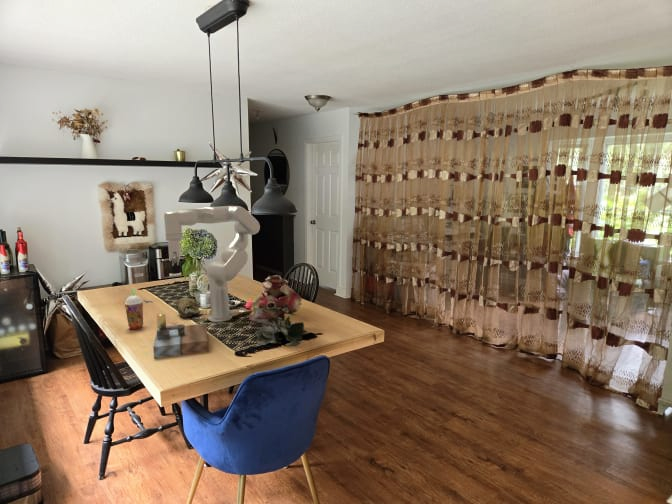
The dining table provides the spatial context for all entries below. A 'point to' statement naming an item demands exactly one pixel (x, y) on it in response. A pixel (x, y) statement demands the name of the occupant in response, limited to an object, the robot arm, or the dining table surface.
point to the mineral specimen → (187, 307)
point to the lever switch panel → (181, 341)
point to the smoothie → (134, 311)
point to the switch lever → (162, 323)
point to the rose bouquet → (276, 312)
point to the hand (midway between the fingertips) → (176, 271)
